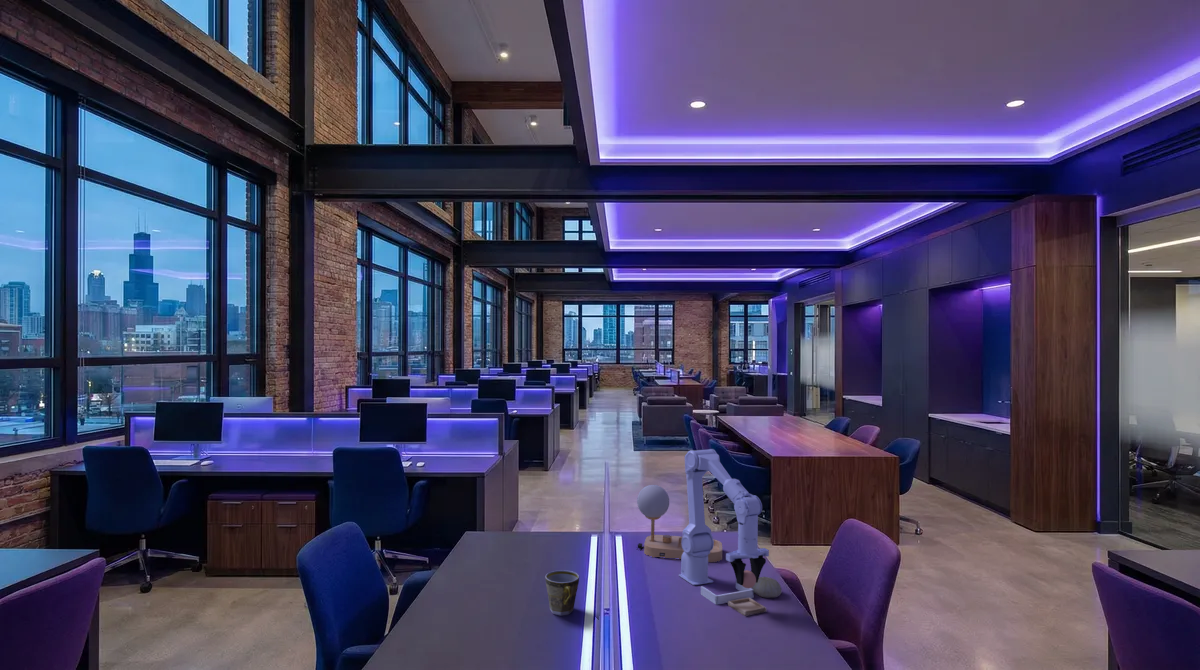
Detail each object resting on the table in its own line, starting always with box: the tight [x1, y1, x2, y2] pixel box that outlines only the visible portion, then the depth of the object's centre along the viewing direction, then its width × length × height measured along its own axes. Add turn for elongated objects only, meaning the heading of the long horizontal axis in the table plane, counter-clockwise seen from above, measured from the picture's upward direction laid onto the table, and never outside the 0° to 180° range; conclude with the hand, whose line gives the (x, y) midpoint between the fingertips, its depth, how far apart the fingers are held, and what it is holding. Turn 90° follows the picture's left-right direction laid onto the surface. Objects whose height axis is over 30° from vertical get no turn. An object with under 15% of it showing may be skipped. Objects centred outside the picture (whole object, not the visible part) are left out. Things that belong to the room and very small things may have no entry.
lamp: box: [636, 484, 723, 563], centre depth 227 cm, size 33×17×25 cm, turn 80°
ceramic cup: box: [544, 569, 580, 616], centre depth 171 cm, size 13×10×10 cm
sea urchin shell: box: [752, 576, 782, 599], centre depth 188 cm, size 9×8×8 cm
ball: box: [742, 569, 756, 588], centre depth 177 cm, size 5×5×5 cm
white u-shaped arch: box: [700, 580, 755, 605], centre depth 185 cm, size 8×14×2 cm, turn 114°
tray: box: [727, 598, 767, 617], centre depth 176 cm, size 8×8×1 cm
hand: (747, 582), depth 177 cm, fingers closed on ball, 5 cm apart
